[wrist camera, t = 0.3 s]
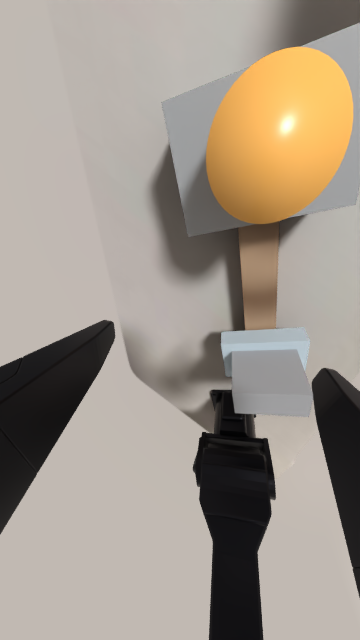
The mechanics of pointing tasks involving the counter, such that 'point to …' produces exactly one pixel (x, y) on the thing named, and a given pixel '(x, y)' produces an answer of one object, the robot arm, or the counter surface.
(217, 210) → the grey rectangular block
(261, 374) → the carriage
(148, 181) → the counter surface
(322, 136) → the orange oval piece
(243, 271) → the rail
